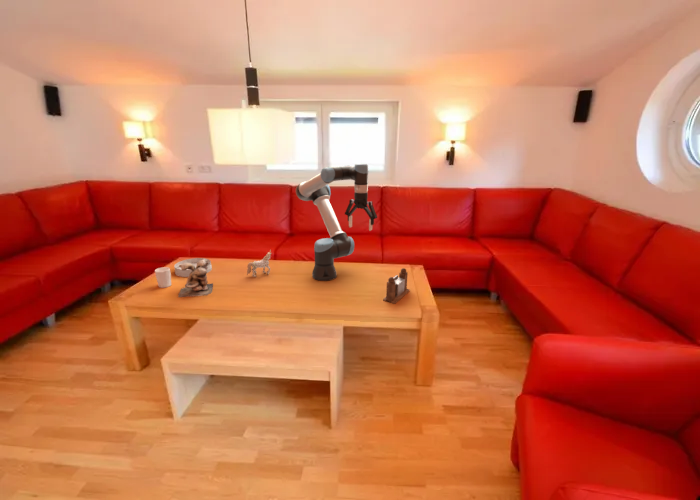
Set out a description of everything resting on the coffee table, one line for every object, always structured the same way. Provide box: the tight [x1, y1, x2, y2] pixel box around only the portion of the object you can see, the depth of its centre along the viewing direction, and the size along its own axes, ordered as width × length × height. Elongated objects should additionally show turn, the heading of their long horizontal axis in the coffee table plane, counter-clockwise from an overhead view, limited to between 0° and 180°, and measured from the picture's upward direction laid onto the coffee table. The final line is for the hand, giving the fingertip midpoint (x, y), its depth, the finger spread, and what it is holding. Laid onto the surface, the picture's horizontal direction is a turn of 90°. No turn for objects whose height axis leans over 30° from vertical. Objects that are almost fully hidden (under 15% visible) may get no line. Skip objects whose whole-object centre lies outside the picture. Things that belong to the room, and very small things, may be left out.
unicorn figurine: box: [246, 249, 273, 278], centre depth 225 cm, size 7×20×13 cm, turn 138°
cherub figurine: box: [177, 258, 214, 298], centre depth 201 cm, size 18×18×18 cm
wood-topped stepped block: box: [393, 274, 405, 298], centre depth 197 cm, size 5×9×9 cm, turn 148°
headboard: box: [382, 267, 410, 304], centre depth 197 cm, size 7×19×14 cm, turn 148°
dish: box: [174, 257, 213, 278], centre depth 232 cm, size 22×22×5 cm
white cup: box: [154, 266, 172, 289], centre depth 209 cm, size 8×8×10 cm
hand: (360, 228), depth 208 cm, fingers open, 13 cm apart
